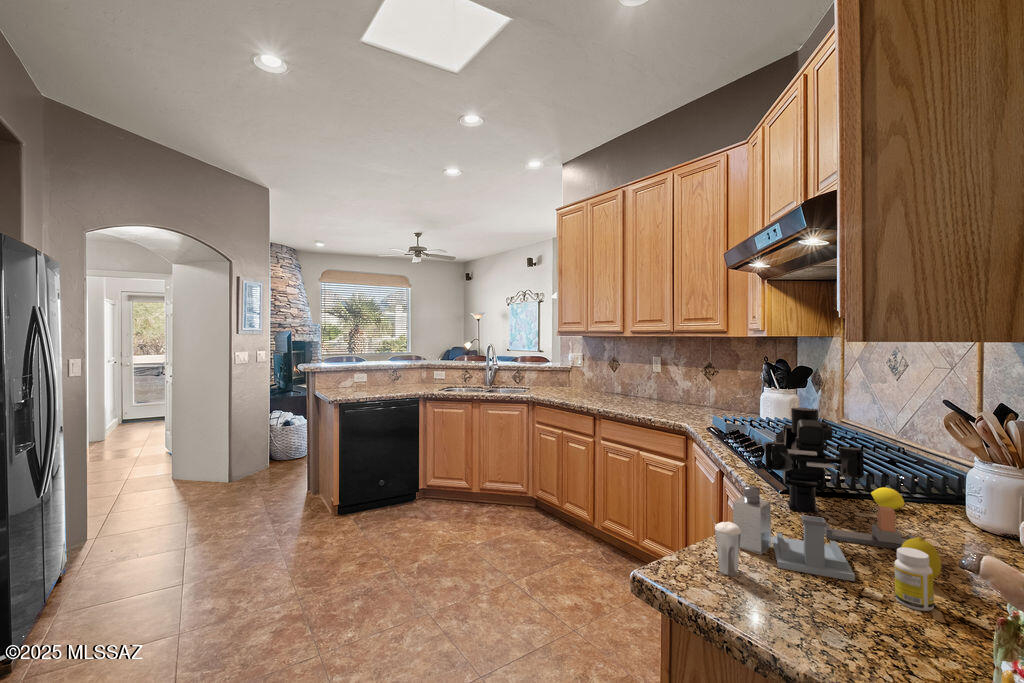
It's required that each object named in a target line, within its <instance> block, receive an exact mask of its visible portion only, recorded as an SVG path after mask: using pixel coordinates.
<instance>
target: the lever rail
mask: <svg viewBox="0 0 1024 683" xmlns="http://www.w3.org/2000/svg"><path fill="white" fill-rule="evenodd" d="M824 537H825V538H826V539H827V540H830V541H839V542H846V543H852V544H860V545H868V546H873V547H881V548H887V549H888V548H889V549H893V550H897V549H898V548H900V547H901V546H902V544H903V543H904V542H905V541H906V540H908V539H912V538H916V536H914V535H913V534H907V537H906V538H902V544H896V543H889V542H882V541H878V540H877V539H876V538H875V536H874V535H873V534H872V533H865V532H857V531H850V530H842V529H837V528H836V529H835V528H831V526H830V524H829V523H826V527H824Z"/></svg>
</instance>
